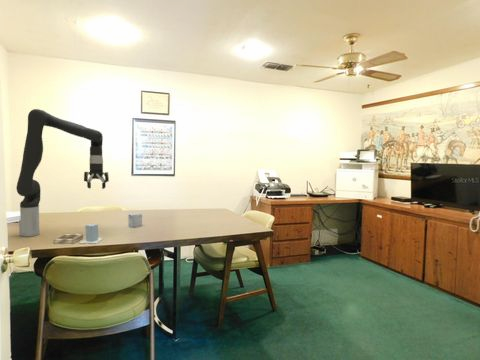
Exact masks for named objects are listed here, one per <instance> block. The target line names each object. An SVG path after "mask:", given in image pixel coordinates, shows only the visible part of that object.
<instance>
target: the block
mask: <svg viewBox="0 0 480 360" xmlns="http://www.w3.org/2000/svg"><path fill="white" fill-rule="evenodd" d="M98 238H99V224H96V223H89V224H86V225H85V239H86V241H90V242H93V241H96V240H98Z"/></svg>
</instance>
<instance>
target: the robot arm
mask: <svg viewBox="0 0 480 360" xmlns="http://www.w3.org/2000/svg"><path fill="white" fill-rule="evenodd" d="M45 127H49V128H53V129H57V130H60V131H63V132H65V133H67V134H69V135H73V136H76V137H79V138H83V139H86V140H87V141H90V147H89V171H84V173H83V182H86V184H87V186H86V187H87V188H88V189H91V188H92V180H95V179H96V180H100V181H101V182H102V184H101V189H102V190H105V188H106V184H107V183H109V182H110V181H109V171H108V172H107V171H106V172H104V158H103V140H104V138H103V134H102V132H101V131H99V130H97V129H93V128H89V127H86V126H84V125H82V124H79V123H75V122H72V121H68V120H64V119H62V118H59V117H56V116H55V115H52V114H50V113H48V112H46V111H45V110H43V109H39V108H34V109H31V110H30V111H29V112H28V115H27V131H26V137H25V142H24V147H23V152H22V153H23V154H22V161H21V167H20V171H19V175H18V179H17V184H16V192H17V194H18V195H19V196H20V197H23V200H21V201H20V203H19V208H20V209H19V210H20V211H19V212H20V214H19V215H20V219H19V220H18V234H19V237H27V238H28V237H34V236H35V237H36V236H39V235H40V231H41V230H40V202H41V185H40V183H39V181H38V180H35V179H34V175H35V173H36V171H37V169H38V167H39V165H40V164H41V161H42V159H43V154H44V143H43V131H44V128H45ZM88 177H89V178H88ZM104 177H105V178H104Z"/></svg>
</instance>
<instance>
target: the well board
mask: <svg viewBox="0 0 480 360" xmlns="http://www.w3.org/2000/svg"><path fill="white" fill-rule="evenodd" d="M82 239H84V234H79V233H78V234H76V233H75V234H70V233H68V234H67V233H63V234H62V235H60V236H57V237H55V238H53V240H52V241H53V244H63V245H65V244H66V245H67V244H70V245H73V244H76V243H78V242H79V241H81V240H82Z"/></svg>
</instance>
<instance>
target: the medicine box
mask: <svg viewBox="0 0 480 360" xmlns="http://www.w3.org/2000/svg"><path fill="white" fill-rule="evenodd" d="M127 217H128V218H127V219H128V228H130V229H133V228H137V227H142V226H143V214H142V213H138V212H137V213H131V214H128V216H127Z"/></svg>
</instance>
